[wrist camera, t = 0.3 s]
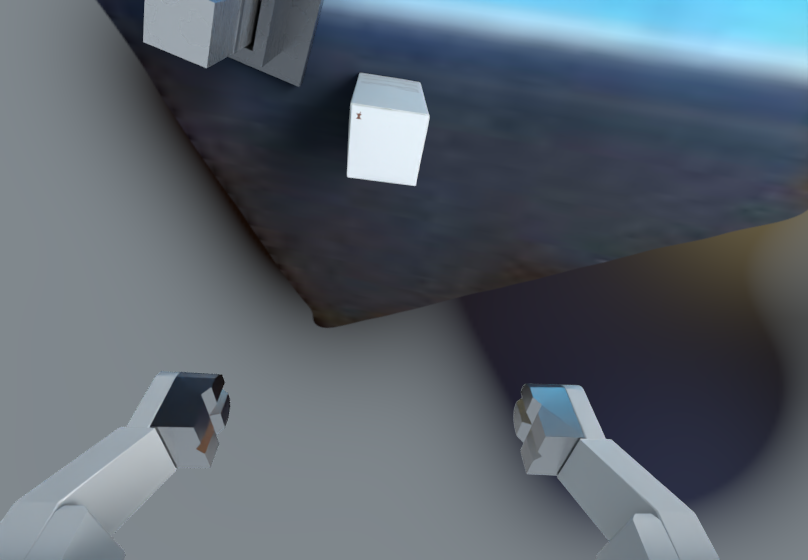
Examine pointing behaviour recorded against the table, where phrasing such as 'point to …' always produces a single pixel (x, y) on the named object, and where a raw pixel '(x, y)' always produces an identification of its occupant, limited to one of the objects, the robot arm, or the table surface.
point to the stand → (283, 39)
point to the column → (201, 27)
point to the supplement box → (386, 129)
